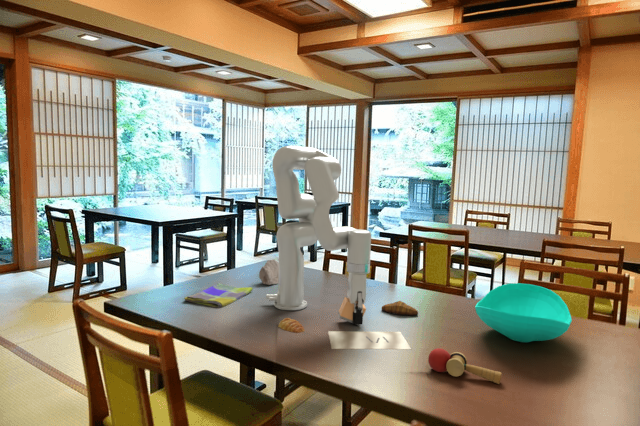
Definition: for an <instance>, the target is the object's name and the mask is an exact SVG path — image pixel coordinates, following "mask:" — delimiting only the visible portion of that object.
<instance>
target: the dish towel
mask: <svg viewBox="0 0 640 426" xmlns="http://www.w3.org/2000/svg"><path fill="white" fill-rule="evenodd" d="M253 288H254V287H251V286H250V287H249V286H248V287H234V286H232V285H227V284H222V283H220V282H218V283H215V284H213V285H212V286H209V287H208V288H206V289H203V290H200V291H199V292H196V293H195V294H191V295H188V296H185V297H184V298H183V299H184V301H187V302H188V303H193V304H198V305H205V306H207V307H208V306H209V307H213V308H219V309H220V308H224V307H226V306H228V305H230V304H232V303H234V302H236V301H239V300H240V299H242V298H244V297H246V296H247V295H249V293H251V292H252V291H253Z"/></svg>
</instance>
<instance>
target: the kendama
mask: <svg viewBox="0 0 640 426" xmlns="http://www.w3.org/2000/svg"><path fill="white" fill-rule="evenodd" d="M428 354H429V355H428V358H427V359H428V365H429V366H430V368H431V369H432V370H433V371H435V372H437V373H447V372H448V375H451V376H452V377H459V376H462V375H463V373H464V371H466V372H468V373H470V374H472V375H473V376H474V375H475V376H477V377H479V378H482V379H485V380H486V381H487V380H488V381H489V382H492V383H495V384H497V385H500V383H501V381H502V372H501V371H498V370H497V371H496V370H492V369H489V368H486V367H481V366H479V365H478V366H477V365H472V364H468V360H467V357H466V356H465V354H463V353H462V352H458V351H455V352H452V353H449V351H447V350H446V349H444V348H440V347H439V348H438V347H437V348H435V349H433V350H431V351H430V353H428Z"/></svg>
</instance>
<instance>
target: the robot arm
mask: <svg viewBox="0 0 640 426" xmlns="http://www.w3.org/2000/svg"><path fill="white" fill-rule="evenodd" d="M271 163H272V172H273V176H274V181H275V186H276V190H275V191H276V199H277V208H278V209H277V210H278V215H279V216H280V217H281V218H282V219H285V220H295V219H296V220H297V219H298V221H296V222H288V223H287V222H286V223H285V224H282V225H280V226H279V228H277V232H276V243H277V249H278V263H279V278H278V284H277V285H278V286H277V290H278V291H277V292H276V293H274V294H271V293H270V294H269V293H267V294H266V297H265V298H266V299H265V300H268V301H269V302H270V301H271V302H273V306H274V307H275V308H276V309H279V310H281V311H300V310H303V309H305V308H307V306H308V301H306V300H305V299H304V286H305V285H304V279H305V277H304V276H305V259H304V253H303V252H302V250H301V248H303V247H309V246H313V245H315V244H316V243H317V241H318V243H319V245H320V246H321V248H322V249H324V250H326V251H328V252H329V251H330V252H332V251H338V250H346V249H347V256H346V257H347V259H346V272H347V273H348V281H347V282H348V283H347V291H346V292H347V293H346V295H347V298H348V299H349V302H350V303H351V304H352V303H354V312H353V323H352V325H356V324H360V325H363V323H364V321H363V317H364V315H363V304H364V305H365V303H366V300H367V299H366V298H367V275H368V274H370V272H371V270H370V269H371V253H372V251H371V248H372V233H371V231H370V230H367V229H359V228H354V227H351V226H349V225H348V226H347V225H345V226H333V225H332V221H331V218H330V209H331V206H332V205H333V203H336V201H338V200H339V198H340V193H339V191H338V188H337V186H336V182H335V181H336V180H337V179H339V178H340V176H341V174H342V167H341V163H340V162H339V161H338V159H336V158H335V157H333V156H332V155H330V154H328V153H326V152H323V151H322V150H319V149H318V148H315V147H311V146H300V145H285V146H281V147H279V149H277V150H276V151H275V153H274V156H273V158H272V162H271ZM294 170H304V172H305V176H306V178H307V181H308V185H309V187H310V190H311V194H312V195H313V196H312V195H311V194H309V193H303V192H301V193H300V183H299V180H298V177H297V175H296V174H295V172H294ZM355 301H357V302H358V303H355ZM356 305H358V306H357V307H356Z"/></svg>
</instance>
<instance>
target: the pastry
mask: <svg viewBox="0 0 640 426" xmlns="http://www.w3.org/2000/svg"><path fill="white" fill-rule="evenodd" d="M277 327H278V329H279V328H280V329H281V330H284V331H287V332H291V333H295V334H298V333H299V334H300V333H304V332H305V327H304V326H303V325H302V323H300V321H298V320H296V319H294V318H293V319H291V318H290V317H284V318H283V319H282V320H280V322H279V324H278V326H277Z"/></svg>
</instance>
